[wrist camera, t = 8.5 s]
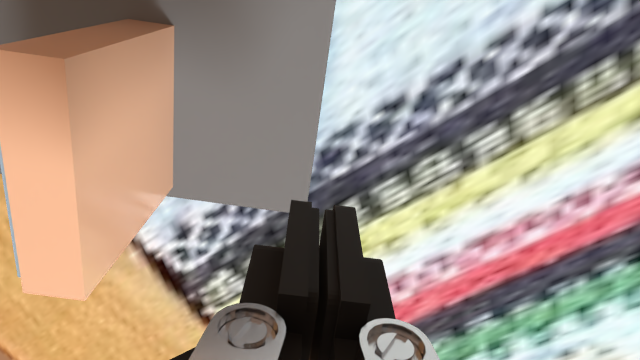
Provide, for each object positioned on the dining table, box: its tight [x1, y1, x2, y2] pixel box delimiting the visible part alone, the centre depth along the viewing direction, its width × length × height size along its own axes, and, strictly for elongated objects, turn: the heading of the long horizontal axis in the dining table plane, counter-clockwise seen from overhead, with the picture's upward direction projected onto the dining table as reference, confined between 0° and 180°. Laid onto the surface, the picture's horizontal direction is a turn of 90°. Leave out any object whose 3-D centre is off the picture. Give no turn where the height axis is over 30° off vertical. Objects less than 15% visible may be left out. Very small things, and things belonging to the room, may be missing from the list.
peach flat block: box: [0, 19, 174, 301], centre depth 16 cm, size 2×7×8 cm, turn 172°
